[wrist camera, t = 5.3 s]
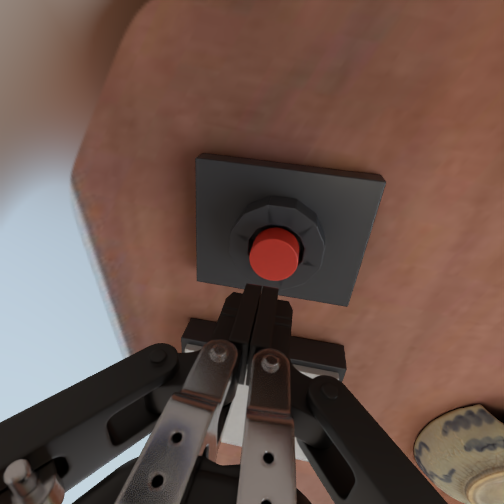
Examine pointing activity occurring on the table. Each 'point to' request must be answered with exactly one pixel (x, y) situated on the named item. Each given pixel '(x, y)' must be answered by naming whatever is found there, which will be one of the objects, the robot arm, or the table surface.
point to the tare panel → (284, 223)
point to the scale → (302, 357)
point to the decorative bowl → (464, 455)
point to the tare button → (274, 254)
